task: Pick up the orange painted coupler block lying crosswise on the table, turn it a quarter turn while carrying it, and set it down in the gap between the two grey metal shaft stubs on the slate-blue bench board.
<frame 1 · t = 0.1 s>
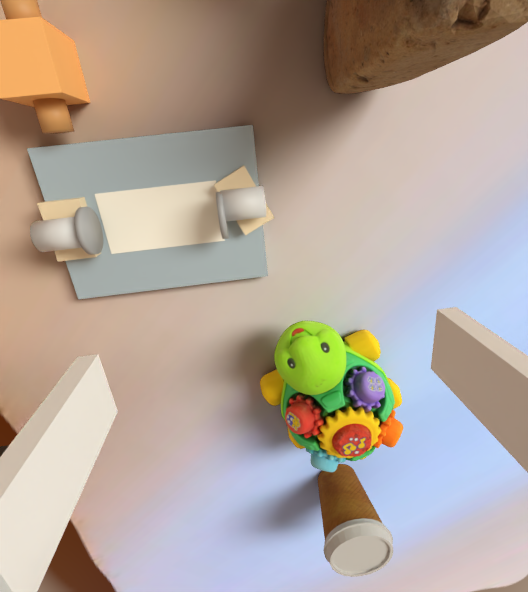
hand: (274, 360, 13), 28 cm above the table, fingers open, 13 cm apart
disposable coffee cup: (336, 476, 56), on the table
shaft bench: (161, 216, 38), on the table
coupler: (55, 75, 32), on the table
block: (355, 34, 33), on the table
turtle toy: (319, 366, 48), on the table
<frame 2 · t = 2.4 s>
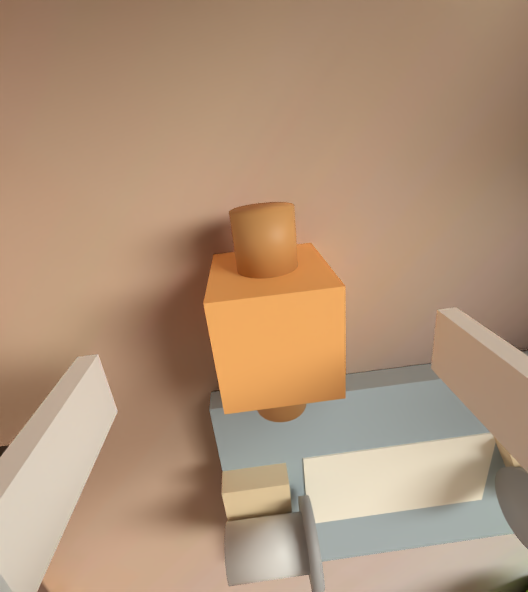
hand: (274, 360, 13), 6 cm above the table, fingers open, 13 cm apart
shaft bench: (383, 461, 24), on the table
coupler: (267, 293, 18), on the table
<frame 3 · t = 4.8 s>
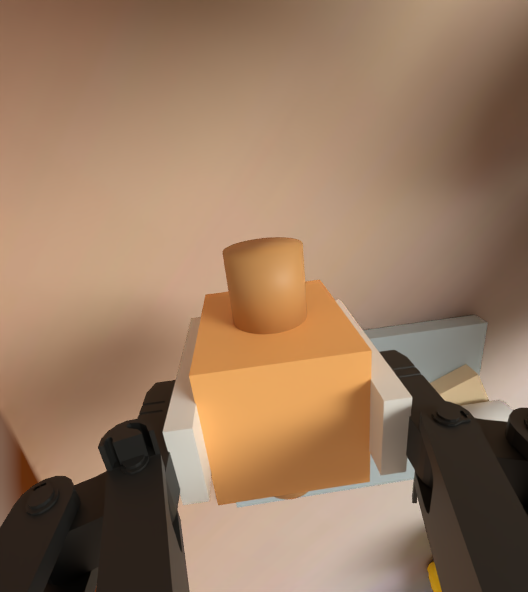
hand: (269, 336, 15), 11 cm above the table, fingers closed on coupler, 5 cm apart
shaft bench: (346, 410, 31), on the table
coupler: (268, 337, 16), point 10 cm above the table, touching gripper
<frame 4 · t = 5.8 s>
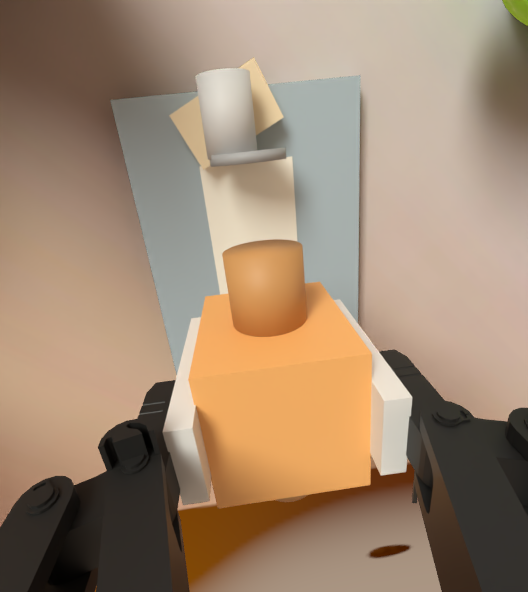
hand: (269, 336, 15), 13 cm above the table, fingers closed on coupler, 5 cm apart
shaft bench: (254, 249, 27), on the table
coupler: (268, 339, 16), point 13 cm above the table, touching gripper
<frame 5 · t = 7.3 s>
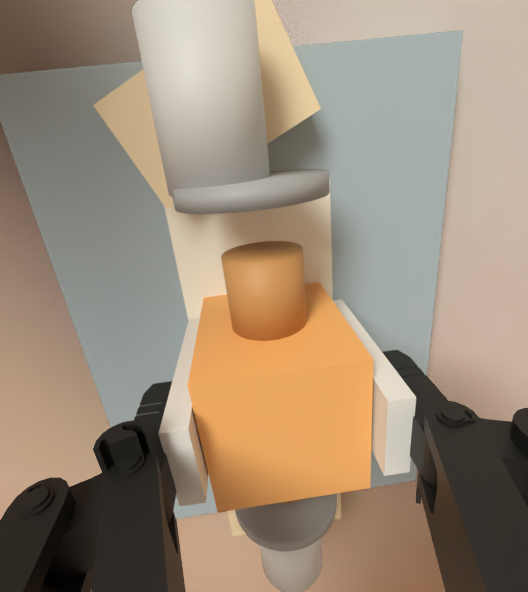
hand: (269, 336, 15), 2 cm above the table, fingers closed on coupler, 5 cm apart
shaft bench: (261, 323, 17), on the table
coupler: (267, 340, 16), point 2 cm above the table, touching gripper, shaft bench
when the fingers open (2 cm above the table, at t = 7.4 s): coupler stays where it is, resting on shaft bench.
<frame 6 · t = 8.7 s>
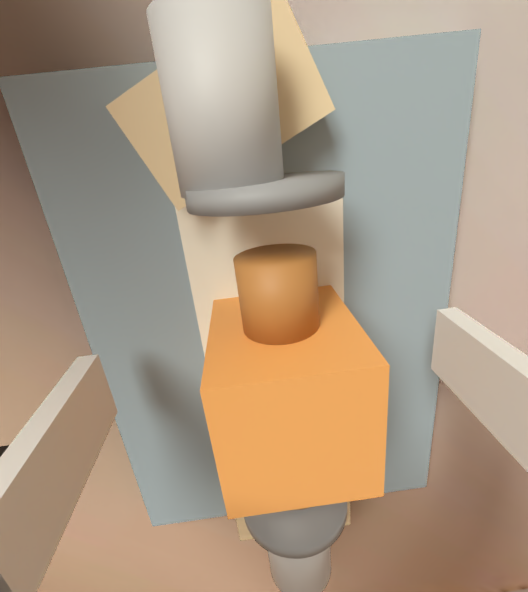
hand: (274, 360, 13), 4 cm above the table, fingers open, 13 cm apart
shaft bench: (271, 326, 17), on the table
coupler: (277, 343, 15), point 2 cm above the table, touching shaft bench
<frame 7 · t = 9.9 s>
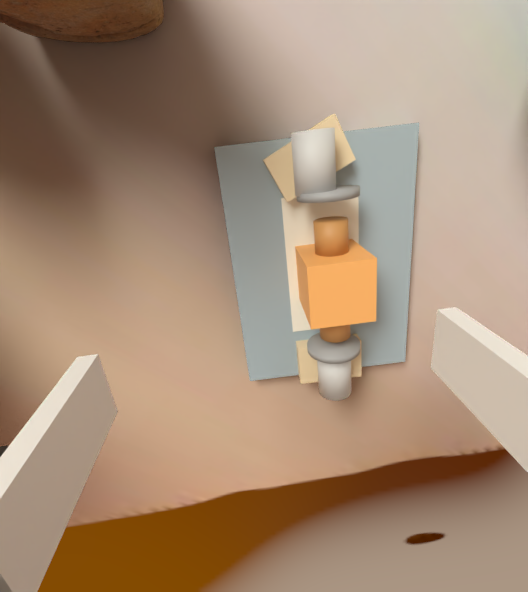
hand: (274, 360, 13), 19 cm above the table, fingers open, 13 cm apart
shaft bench: (319, 264, 32), on the table
coupler: (324, 269, 30), point 2 cm above the table, touching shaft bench
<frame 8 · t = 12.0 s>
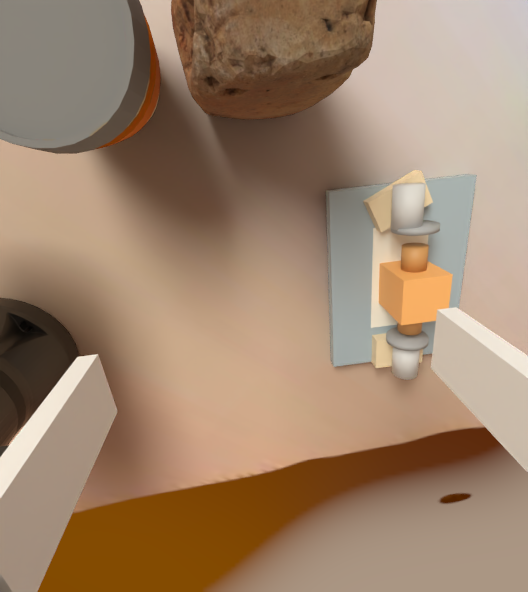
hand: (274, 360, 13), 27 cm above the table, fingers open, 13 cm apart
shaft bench: (392, 276, 42), on the table
coupler: (399, 280, 40), point 2 cm above the table, touching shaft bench
reusable coffee cup: (111, 81, 32), on the table
block: (250, 80, 33), on the table
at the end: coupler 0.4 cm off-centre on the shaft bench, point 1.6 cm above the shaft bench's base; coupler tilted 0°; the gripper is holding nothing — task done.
